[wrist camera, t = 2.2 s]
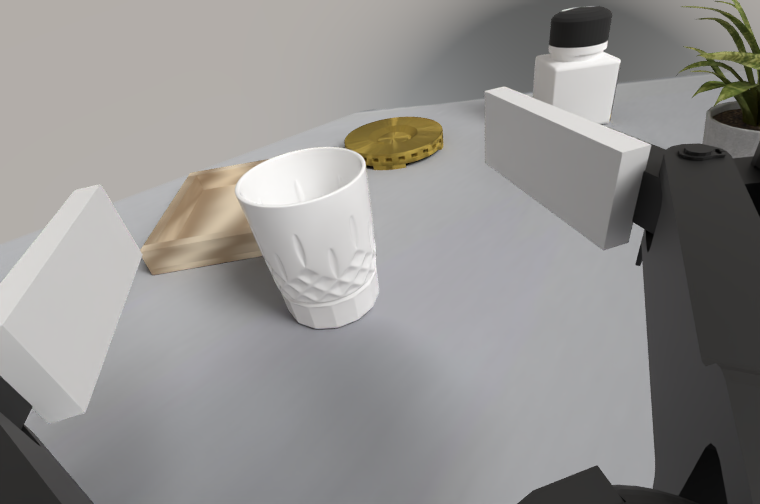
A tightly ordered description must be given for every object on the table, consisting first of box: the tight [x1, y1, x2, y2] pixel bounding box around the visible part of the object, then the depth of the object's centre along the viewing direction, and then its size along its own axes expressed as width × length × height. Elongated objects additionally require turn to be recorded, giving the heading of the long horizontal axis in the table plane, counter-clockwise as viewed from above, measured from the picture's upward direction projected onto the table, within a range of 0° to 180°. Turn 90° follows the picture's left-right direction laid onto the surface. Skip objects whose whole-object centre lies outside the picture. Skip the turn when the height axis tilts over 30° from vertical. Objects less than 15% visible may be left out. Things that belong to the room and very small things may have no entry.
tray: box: [140, 159, 268, 275], centre depth 42 cm, size 16×16×2 cm
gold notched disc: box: [345, 117, 443, 170], centre depth 51 cm, size 12×12×2 cm
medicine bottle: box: [533, 6, 621, 124], centre depth 48 cm, size 7×7×12 cm
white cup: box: [235, 147, 379, 329], centre depth 28 cm, size 8×8×10 cm
